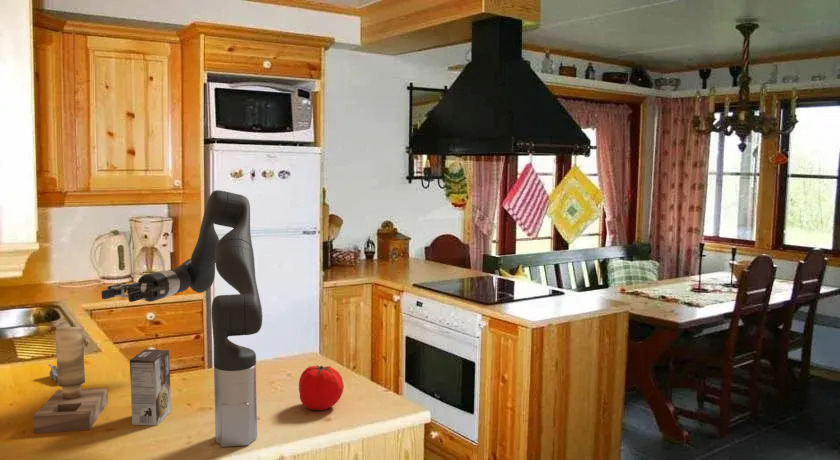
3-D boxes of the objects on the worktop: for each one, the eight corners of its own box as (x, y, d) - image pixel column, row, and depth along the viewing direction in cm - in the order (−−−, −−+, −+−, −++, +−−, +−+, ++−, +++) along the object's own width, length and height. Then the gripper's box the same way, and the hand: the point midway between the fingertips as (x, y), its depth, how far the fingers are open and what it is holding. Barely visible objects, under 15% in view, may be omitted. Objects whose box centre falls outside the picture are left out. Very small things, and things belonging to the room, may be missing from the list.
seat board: (89, 429, 164) (88, 413, 163) (33, 433, 161) (32, 416, 161) (108, 402, 181) (107, 387, 181) (57, 405, 179) (57, 390, 179)
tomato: (288, 407, 180) (287, 365, 178) (322, 396, 188) (322, 355, 187) (319, 419, 172) (318, 375, 171) (353, 406, 180) (353, 364, 179)
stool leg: (81, 400, 172) (79, 332, 170) (54, 401, 171) (51, 333, 169) (88, 391, 178) (85, 326, 176) (62, 393, 177) (59, 327, 175)
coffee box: (146, 411, 176) (144, 348, 174) (172, 412, 176) (170, 349, 174) (130, 425, 167) (128, 359, 165) (157, 425, 167) (155, 359, 165)
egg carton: (47, 377, 202) (46, 364, 202) (75, 372, 207) (74, 358, 207) (58, 386, 194) (58, 372, 194) (87, 380, 199) (86, 366, 199)
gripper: (137, 270, 195) (93, 280, 180) (180, 273, 191) (138, 284, 176) (138, 296, 196) (94, 308, 181) (180, 300, 192) (139, 313, 176)
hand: (116, 296), depth 178 cm, fingers open, 8 cm apart
